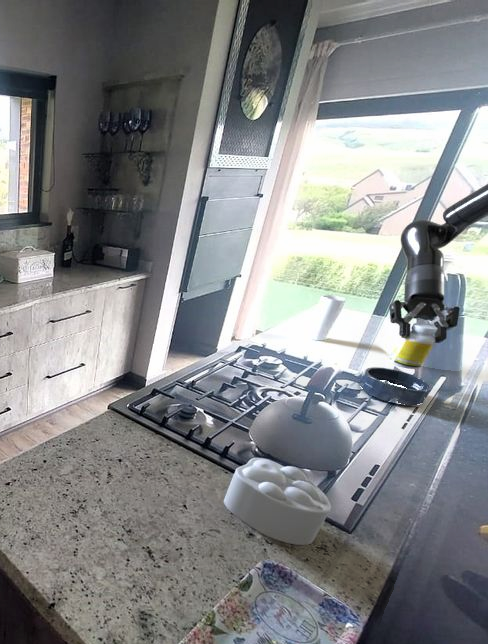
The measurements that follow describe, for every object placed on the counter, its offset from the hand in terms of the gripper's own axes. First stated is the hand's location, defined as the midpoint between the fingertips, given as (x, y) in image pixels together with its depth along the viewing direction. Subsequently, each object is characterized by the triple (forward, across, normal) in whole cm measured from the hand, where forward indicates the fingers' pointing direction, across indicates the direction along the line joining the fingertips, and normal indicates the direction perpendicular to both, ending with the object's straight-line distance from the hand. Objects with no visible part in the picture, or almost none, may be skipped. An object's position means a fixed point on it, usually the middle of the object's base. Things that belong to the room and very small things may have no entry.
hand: (422, 339), depth 108 cm
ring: (+16, -5, +4) cm, 17 cm away
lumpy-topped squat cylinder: (+60, -42, -41) cm, 84 cm away
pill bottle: (+5, 0, +7) cm, 9 cm away
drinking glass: (-12, -12, +33) cm, 37 cm away
